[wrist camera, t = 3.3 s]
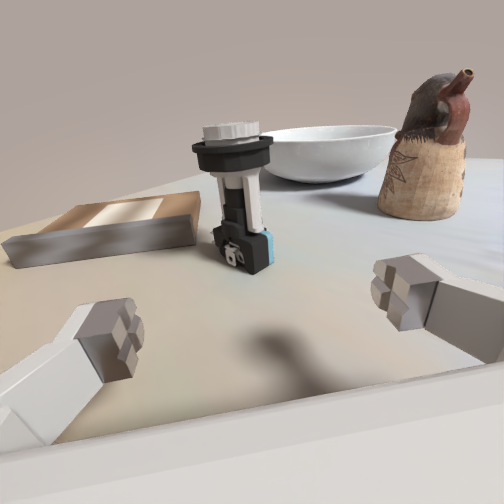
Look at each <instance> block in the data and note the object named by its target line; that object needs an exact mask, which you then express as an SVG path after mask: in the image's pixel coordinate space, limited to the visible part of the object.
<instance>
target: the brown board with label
mask: <svg viewBox="0 0 504 504" xmlns="http://www.w3.org/2000/svg"><path fill="white" fill-rule="evenodd" d="M200 204H201V199H200V194H199V191H193V192H185V193H177V194H169V195H160V196H152V197H144V198H136V199H127V200H119V201H111V202H103V203H95V204H86V205H78V206H76V207H74V208H73V209H71V210H70V211H69V212H67V213H66V214H64V215H63V216H61V217H60V218H58V219H57V220H56V221H54V222H53V223H51V224H50V225H48V226H47V227H45V228H44V229H43V230H41V231H40V232H38V233H37V234H29V235H22V236H14V237H11V238H9V239H8V240H6V241H5V242H3V243H1V245H2V247H3V249H4V250H5V252H6V253H7V255H8V257H9V258H10V260H11V262H12V263H13V265H14V267H15V268H16V269H18V268H25V267H33V266H40V265H47V264H55V263H62V262H69V261H77V260H84V259H92V258H99V257H106V256H114V255H121V254H128V253H136V252H143V251H151V250H158V249H165V248H173V247H180V246H187V245H195V241H196V234H197V227H198V219H199V212H200Z"/></svg>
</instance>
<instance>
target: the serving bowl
mask: <svg viewBox="0 0 504 504" xmlns="http://www.w3.org/2000/svg"><path fill="white" fill-rule="evenodd" d="M396 132H397V129H395V128H393V127H385V126H370V125H348V126H320V127H306V128H296V129H286V130H279V131H272V132H267V133H262V134H261V136H272V137H273V141H274V143H273V144H272V145H270V146H269V148H270V163H269V164H267V165H265V166H263V167H264V168H265V169H266V170H267V171H269V172H270V173H272V174H274V175H276V176H279V177H282V178H286V179H290V180H294V181H297V182H302V183H313V184H316V183H330V182H336V181H340V180H343V179H346V178H350V177H354V176H357V175H360V174H363V173H365V172H368V171H370V170H371V169H373V168H374V167H376V166H377V165H378V164H379V163H380V162H382V161H383V159H384V158H385V157H386V156H387V154H388V153H389V151H390V149H391V147H392V145H393V143H394V140H395V134H396ZM259 136H260V135H259Z"/></svg>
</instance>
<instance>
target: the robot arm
mask: <svg viewBox="0 0 504 504" xmlns="http://www.w3.org/2000/svg"><path fill="white" fill-rule="evenodd" d="M373 272H374V273H375V275H376V277H375V278H374V279H373V281H372V282H371V295H372V298H373V300H374V302H375V304H376V305H377V306H378V308H380V309H382V310H384V311H386V312H387V318H388V319H389V321H390V322H391V323H392V324H393V325H394V326H395V328H396V329H397V330H398V331H399V332H400V331H407V330H414V329H421V328H425V330H427V331H429V332H430V333H432V334H434V335H436V336H438V337H439V338H441V339H443V340H445V341H447V342H448V343H450V344H452V345H454V346H455V347H457V348H459V349H461V350H463V351H464V352H466V353H468V354H470V355H471V356H473V357H475V358H477V359H479V360H480V361H482V362H484V363H486V364H484V365H479V366H473V367H468V368H463V369H457V370H452V371H446V372H441V373H436V374H430V375H425V376H420V377H414V378H409V379H404V380H398V381H393V382H388V383H382V384H377V385H372V386H366V387H361V388H356V389H350V390H345V391H339V392H334V393H329V394H323V395H318V396H313V397H307V398H302V399H297V400H291V401H286V402H280V403H275V404H270V405H264V406H259V407H254V408H248V409H243V410H238V411H232V412H227V413H221V414H216V415H211V416H205V417H200V418H195V419H189V420H184V421H179V422H173V423H168V424H163V425H157V426H152V427H147V428H141V429H136V430H130V431H125V432H120V433H114V434H109V435H104V436H98V437H93V438H88V439H82V440H77V441H72V442H66V443H61V444H56V445H51V444H52V443H53V442H54V441H55V440H56V439H57V438H58V436H59V435H60V434H61V433H62V432H63V431H64V430H65V428H66V427H67V426H68V425H69V424H70V423H71V422H72V420H73V419H74V418H75V417H76V416H77V415H78V414H79V412H80V411H81V410H82V409H83V408H84V407H85V406H86V404H87V403H88V402H89V401H90V400H91V399H92V398H93V396H94V395H95V394H96V393H97V392H98V391H99V390H100V388H101V387H102V386H103V383H108V382H113V381H118V380H123V379H128V378H133V375H134V372H135V369H136V365H137V362H138V357H137V354H136V353H137V352H138V351H139V350H140V349H141V348H142V345H143V342H144V327H143V323H142V320H141V318H140V317H138V316H137V315H135V311H136V308H137V307H136V305H135V303H134V300H133V299H131V298H123V299H115V300H108V301H100V302H93V303H86V304H81V305H79V306H77V308H76V309H75V311H74V312H73V314H72V315H71V316H70V318H69V319H68V321H67V322H66V324H65V325H64V326H63V328H62V329H61V331H60V332H59V334H58V335H57V336H56V338H55V339H54V341H53V342H52V343H49V344H45V345H44V346H42V347H41V348H39V349H38V350H36V351H35V352H33V353H32V354H30V355H29V356H27V357H26V358H25V359H23V360H22V361H20V362H19V363H17V364H16V365H14V366H13V367H11V368H10V369H8V370H7V371H5V372H4V373H2V374H1V375H0V504H504V288H502V287H498V286H494V285H491V284H487V283H484V282H480V281H477V280H473V279H470V278H466V277H461V278H459V277H458V276H456V275H455V274H453V273H452V272H450V271H449V270H447V269H446V268H444V267H443V266H441V265H440V264H438V263H437V262H435V261H434V260H432V259H431V258H429V257H428V256H426V255H425V254H422V253H416V254H411V255H406V256H402V257H396V258H390V259H384V260H378V261H376V263H375V264H374V269H373Z"/></svg>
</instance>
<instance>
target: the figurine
mask: <svg viewBox="0 0 504 504" xmlns="http://www.w3.org/2000/svg"><path fill="white" fill-rule="evenodd" d="M473 77H474V71H473V70H472V69H469V68H467V69H463V70H461V71H460V73H459V74H458V75H457V76H456V75H455V74H452V73H446V74H437V75H434V76H433V77H432V78H430V79H428V80H427V81H426V82H424V83H423V84H422V85H421V86H420V87H419V88H418V89H417V90H416V91H414V93H413V94H412V98H411V104H410V107H409V110H408V112H407V115H406V118H405V121H404V124H403V127H402V130H401V131H398V132H396V134H395V138H396V139H397V142H396V143H395V144H394V145H393V147H392V149H391V152H390V155H389V162H388V166H387V170H386V174H385V178H384V181H383V184H382V187H381V190H380V193H379V198H378V208H379V209H380V210H381V211H382V212H383V213H386V214H388V215H391V216H395V217H398V218H403V219H409V220H423V221H433V220H442V219H446V218H449V217H451V216H452V215H454V214H455V212H456V211H457V209H458V207H459V205H460V201H461V197H462V190H463V183H464V175H465V159H466V143H465V140H464V137H463V135H462V132H463V130H464V128H465V126H466V123H467V121H468V118H469V113H470V104H469V101H468V99H467V98H466V97H465V95H464V91H465V90H466V88H467V86H468V85H469V84H470V82H471V81H472V79H473Z"/></svg>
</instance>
